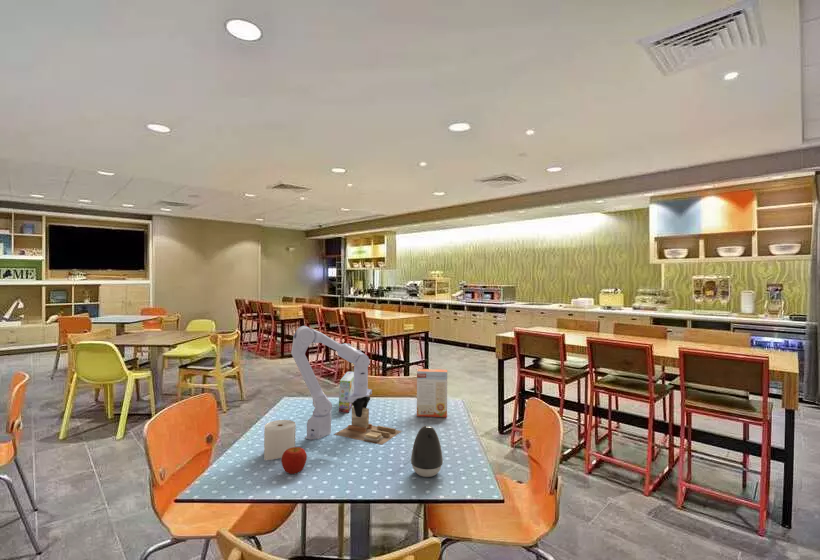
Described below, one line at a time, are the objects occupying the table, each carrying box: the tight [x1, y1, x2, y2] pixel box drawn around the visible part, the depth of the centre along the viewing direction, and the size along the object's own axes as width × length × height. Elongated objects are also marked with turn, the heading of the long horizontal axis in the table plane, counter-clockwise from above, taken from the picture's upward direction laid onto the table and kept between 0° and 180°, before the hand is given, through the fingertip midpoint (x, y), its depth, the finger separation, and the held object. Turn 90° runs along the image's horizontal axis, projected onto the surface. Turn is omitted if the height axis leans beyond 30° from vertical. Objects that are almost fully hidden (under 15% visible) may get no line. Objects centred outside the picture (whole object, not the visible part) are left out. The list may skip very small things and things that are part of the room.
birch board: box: [351, 406, 370, 428], centre depth 170 cm, size 2×7×8 cm, turn 64°
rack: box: [333, 423, 403, 446], centre depth 165 cm, size 16×22×3 cm
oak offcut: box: [365, 432, 382, 439], centre depth 159 cm, size 4×5×1 cm
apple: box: [280, 446, 308, 475], centre depth 133 cm, size 8×8×8 cm
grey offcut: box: [364, 436, 383, 443], centre depth 159 cm, size 4×6×1 cm, turn 64°
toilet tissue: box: [263, 419, 297, 461], centre depth 147 cm, size 11×12×10 cm
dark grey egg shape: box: [410, 425, 444, 478], centre depth 133 cm, size 10×10×15 cm
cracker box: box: [416, 368, 448, 418], centre depth 192 cm, size 14×6×21 cm, turn 84°
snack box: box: [338, 371, 354, 414], centre depth 205 cm, size 21×6×15 cm, turn 179°
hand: (360, 415), depth 170 cm, fingers closed on birch board, 2 cm apart
